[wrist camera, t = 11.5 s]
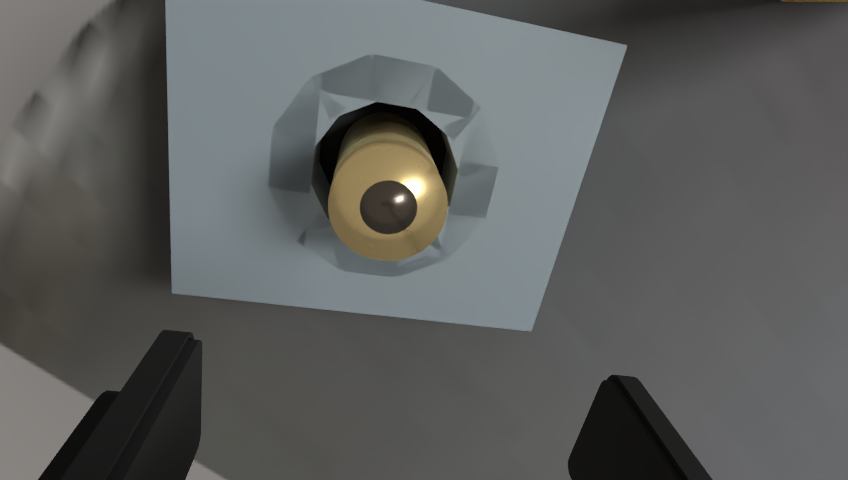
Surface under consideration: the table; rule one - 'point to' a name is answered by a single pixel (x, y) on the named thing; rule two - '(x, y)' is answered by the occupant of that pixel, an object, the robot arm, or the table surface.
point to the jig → (352, 89)
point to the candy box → (816, 0)
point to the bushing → (386, 189)
